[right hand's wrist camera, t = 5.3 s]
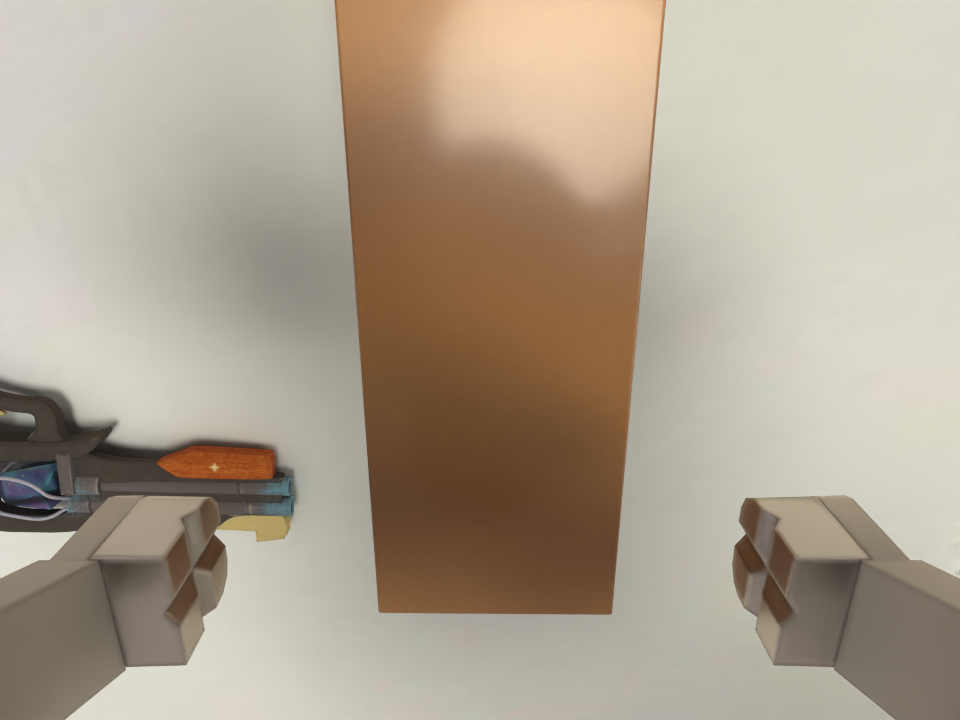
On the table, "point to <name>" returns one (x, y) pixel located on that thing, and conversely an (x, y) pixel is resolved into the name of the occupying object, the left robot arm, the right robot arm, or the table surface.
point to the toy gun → (129, 477)
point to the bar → (498, 289)
